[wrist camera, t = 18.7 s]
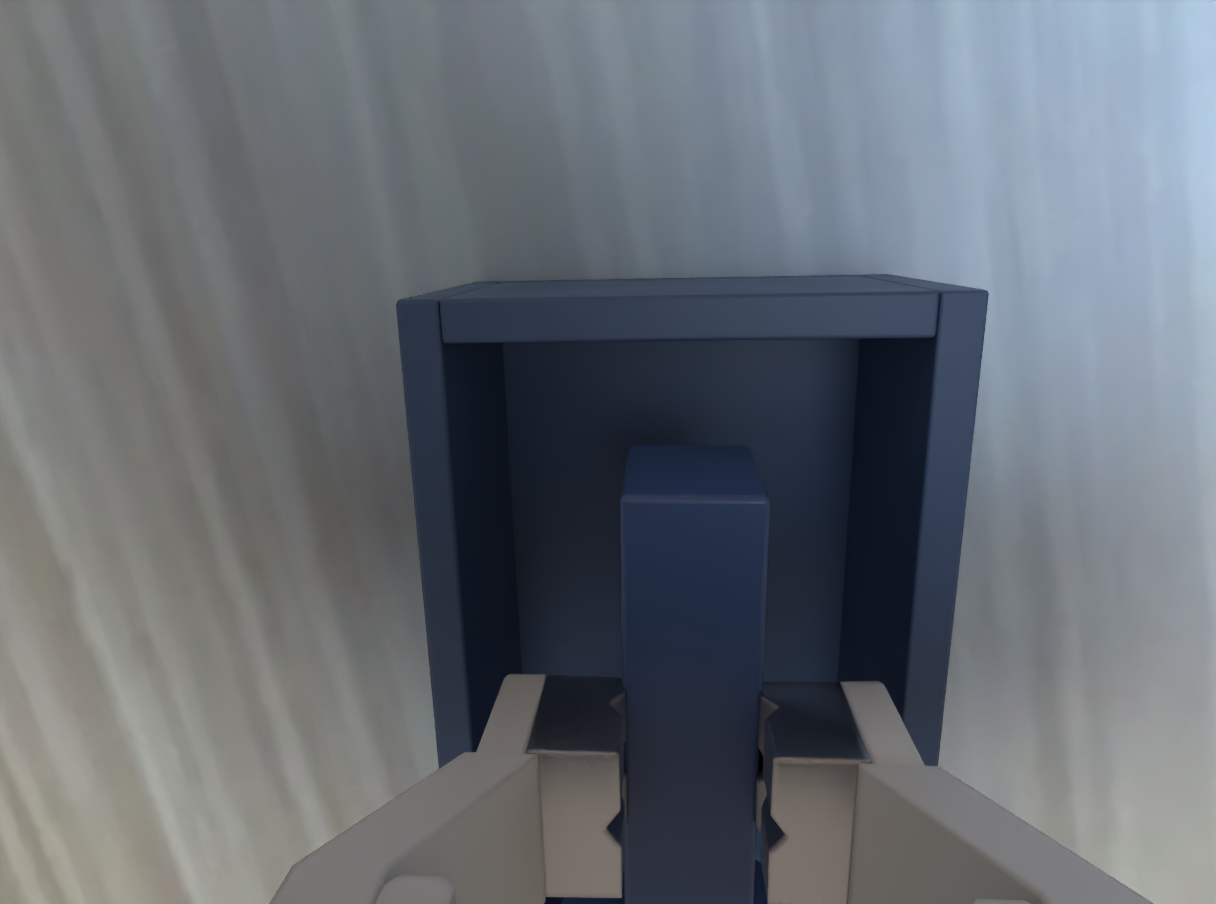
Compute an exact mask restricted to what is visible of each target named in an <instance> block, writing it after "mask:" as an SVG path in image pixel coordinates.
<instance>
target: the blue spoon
mask: <svg viewBox="0 0 1216 904" xmlns="http://www.w3.org/2000/svg"><path fill="white" fill-rule="evenodd" d="M769 522H770V500H769V497H768V495H767V492H766V490H765V487H764V485H763V482H762V480H761V477H760V474H759V472H758V469H757V467H756V464H755V462H754V459H753V456H752V454H751V451H750V449H749V447H747V446H745V445H634V446H631V447H630V449H629V453H628V458H627V464H626V469H625V475H624V480H623V486H622V491H621V496H620V567H621V649H622V687H623V688H624V689H625V699H626V738H627V739H626V744H625V746H624V767H625V769H626V771H627V823H626V824H625V859H624V873H623V886H622V898H584V897H565V898H564V899H563V901H562V903H561V904H768V903H767V897H766V891H765V884H764V878H763V872H762V866H761V862H759V861H757V860H756V859H755V852H756V827H755V796H756V775H757V773H758V770H759V758H760V749H759V747H758V744H757V735H758V714H759V692H761V691H762V687H763V664H764V640H765V616H766V593H767V569H768V546H769Z"/></svg>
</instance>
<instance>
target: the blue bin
mask: <svg viewBox="0 0 1216 904" xmlns="http://www.w3.org/2000/svg"><path fill="white" fill-rule="evenodd" d="M987 303H988V291H986V290H982V289H976V288H970V287H964V286H957V285H951V284H945V283H939V282H933V281H926V280H920V279H914V278H908V277H901V276H894V275H888V274H884V275H828V276H773V277H717V278H662V279H607V280H551V281H496V282H474V283H470V284H466V285H461V286H457V287H453V288H448V289H444V290H440V291H435V292H431V293H427V294H422V295H418V296H413V297H409V298H405V299H401V300H399V301H397V304H396V310H397V320H398V331H399V342H400V353H401V364H402V374H403V385H404V396H405V407H406V417H407V428H408V439H409V450H410V461H411V471H412V482H413V493H414V504H415V515H416V525H417V536H418V547H419V558H420V568H421V579H422V590H423V601H424V612H425V622H426V633H427V644H428V655H429V666H430V676H431V687H432V698H433V709H434V719H435V730H436V741H437V752H438V763H439V769H440V768H441V767H443V766H444V765H446V764H447V763H449V762H450V761H452V760H453V759H455V758H456V757H458V756H459V755H461V754H462V753H464V752H477V749H478V746H479V744H480V741H481V738H482V736H483V733H484V730H485V728H486V725H487V723H488V720H489V717H490V715H491V712H492V709H493V707H494V704H495V701H496V699H497V696H498V693H499V691H500V688H501V685H502V683H503V680H504V678H505V677H506V676H507V675H509V674H546V675H547V676H549V675H568V676H591V677H615V678H622V649H621V567H620V496H621V491H622V486H623V480H624V475H625V469H626V464H627V458H628V453H629V449H630V447H631V446H634V445H745V446H747V447H749V449H750V451H751V454H752V456H753V459H754V462H755V464H756V467H757V469H758V472H759V474H760V477H761V480H762V482H763V485H764V487H765V490H766V492H767V495H768V497H769V500H770V522H769V546H768V569H767V593H766V616H765V640H764V664H763V682H849V681H879V682H881V683H882V684H884V685H885V687H886V689H887V691H888V693H889V695H890V697H891V699H892V701H893V703H894V705H895V707H896V709H897V711H898V713H899V715H900V717H901V719H902V721H903V723H904V725H905V727H906V729H907V731H908V733H909V735H910V737H911V739H912V741H913V743H914V745H915V747H916V749H917V751H918V753H919V755H920V757H921V759H922V761H923V763H924V765H925V766H938V758H939V749H940V739H941V730H942V721H943V712H944V702H945V693H946V684H947V675H948V665H949V656H950V647H951V637H952V628H953V619H954V610H955V600H956V591H957V582H958V572H959V563H960V554H961V545H962V535H963V526H964V517H965V508H966V498H967V489H968V480H969V470H970V461H971V452H972V443H973V433H974V424H975V415H976V406H977V396H978V387H979V378H980V368H981V359H982V350H983V341H984V331H985V322H986V313H987ZM760 839H761V832H760V831H759V830H758V829H757V828H756V852H755V859H756V860H757V861H759V862H761V860H760ZM564 898H565V897H545V900H546V902H545V903H544V904H561V903H562V901H563V899H564Z"/></svg>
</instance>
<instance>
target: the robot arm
mask: <svg viewBox="0 0 1216 904" xmlns="http://www.w3.org/2000/svg"><path fill="white" fill-rule="evenodd" d="M626 739H627V738H626V699H625V689H624V688H623V687H622V678H615V677H591V676H568V675H549V676H547V675H546V674H509V675H507V676H506V677H505V678H504V680H503V683H502V685H501V688H500V691H499V693H498V696H497V699H496V701H495V704H494V707H493V709H492V712H491V715H490V717H489V720H488V723H487V725H486V728H485V730H484V733H483V736H482V738H481V741H480V744H479V746H478V749H477V752H464V753H462V754H461V755H459V756H458V757H456V758H455V759H453V760H452V761H450V762H449V763H447V764H446V765H444V766H443V767H441V768H440V769H438V770H437V771H435V772H434V773H432V774H431V775H429V776H428V777H426V778H425V779H423V780H422V781H420V782H418V783H417V784H415V785H414V786H412V787H411V788H409V789H408V790H406V791H405V792H403V793H402V794H400V795H399V796H397V797H396V798H394V799H393V800H391V801H390V802H388V803H387V804H385V805H384V806H382V807H381V808H379V809H378V810H376V811H375V812H373V813H371V814H370V815H368V816H367V817H365V818H364V819H362V820H361V821H359V822H358V823H356V824H355V825H353V826H352V827H350V828H349V829H347V830H346V831H344V832H343V833H341V834H340V835H338V836H337V837H335V838H334V839H332V840H331V841H329V842H328V843H326V844H324V845H323V846H321V847H320V848H318V849H317V850H315V851H314V852H312V853H311V854H309V855H308V856H306V857H305V858H303V859H302V860H300V861H299V862H297V863H296V864H294V865H293V866H292V867H291V869H290V871H289V872H288V874H287V876H286V877H285V879H284V881H283V882H282V884H281V886H280V887H279V889H278V890H277V892H276V894H275V895H274V897H273V899H272V900H271V902H270V904H544V903H545V902H546V900H545V897H584V898H622V886H623V873H624V859H625V824H626V823H627V771H626V769H625V767H624V746H625V744H626ZM757 744H758V747H759V749H760V758H759V770H758V773H757V775H756V796H755V827H756V828H757V829H758V830H759V831H760V832H761V839H760V860H761V866H762V872H763V878H764V884H765V891H766V897H767V903H768V904H1153V903H1152V902H1150V901H1149V900H1147V899H1146V898H1144V897H1142V896H1141V895H1139V894H1138V893H1136V892H1135V891H1133V890H1131V889H1130V888H1128V887H1127V886H1125V885H1124V884H1122V883H1120V882H1119V881H1117V880H1116V879H1114V878H1113V877H1111V876H1109V875H1108V874H1106V873H1105V872H1103V871H1102V870H1100V869H1099V868H1097V867H1095V866H1094V865H1092V864H1091V863H1089V862H1088V861H1086V860H1084V859H1083V858H1081V857H1080V856H1078V855H1077V854H1075V853H1073V852H1072V851H1070V850H1069V849H1067V848H1066V847H1064V846H1062V845H1061V844H1059V843H1058V842H1056V841H1055V840H1053V839H1051V838H1050V837H1048V836H1047V835H1045V834H1044V833H1042V832H1041V831H1039V830H1037V829H1036V828H1034V827H1033V826H1031V825H1030V824H1028V823H1026V822H1025V821H1023V820H1022V819H1020V818H1019V817H1017V816H1015V815H1014V814H1012V813H1011V812H1009V811H1008V810H1006V809H1004V808H1003V807H1001V806H1000V805H998V804H997V803H995V802H993V801H992V800H990V799H989V798H987V797H986V796H984V795H982V794H981V793H979V792H978V791H976V790H975V789H973V788H972V787H970V786H968V785H967V784H965V783H964V782H962V781H961V780H959V779H957V778H956V777H954V776H953V775H951V774H950V773H948V772H946V771H945V770H943V769H942V768H940V767H939V766H925V765H924V763H923V761H922V759H921V757H920V755H919V753H918V751H917V749H916V747H915V745H914V743H913V741H912V739H911V737H910V735H909V733H908V731H907V729H906V727H905V725H904V723H903V721H902V719H901V717H900V715H899V713H898V711H897V709H896V707H895V705H894V703H893V701H892V699H891V697H890V695H889V693H888V691H887V689H886V687H885V685H884V684H882V683H881V682H879V681H849V682H763V687H762V691H761V692H759V714H758V735H757Z"/></svg>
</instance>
